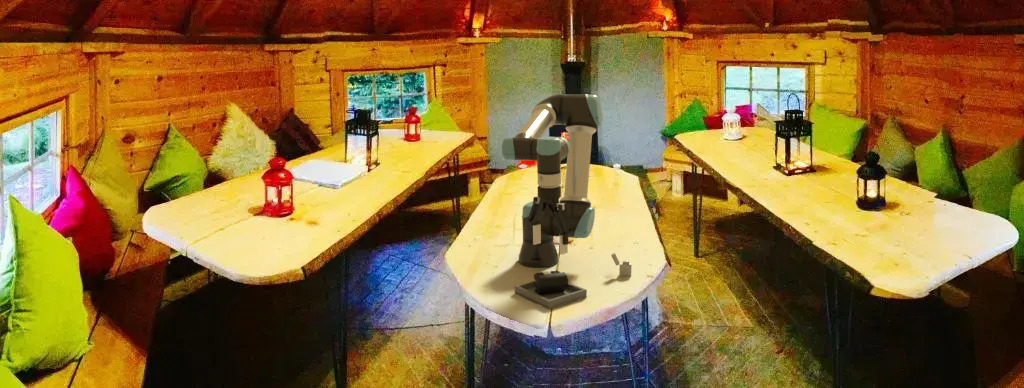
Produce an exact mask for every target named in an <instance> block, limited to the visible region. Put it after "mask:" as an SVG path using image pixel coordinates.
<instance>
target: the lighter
mask: <svg viewBox="0 0 1024 388" xmlns="http://www.w3.org/2000/svg"><path fill="white" fill-rule="evenodd" d="M610 256H611V258H612V260H613V262H614V264H615V266H619V273H618V275H619V276H620V277H632V262H630V261H629V260H622V262H620V261H619V259H618V256H617V254H616V253H615V252H614V253H612V254H611V255H610Z"/></svg>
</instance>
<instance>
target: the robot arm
mask: <svg viewBox="0 0 1024 388" xmlns="http://www.w3.org/2000/svg"><path fill="white" fill-rule="evenodd" d="M602 121H603V113H602V106H601V100H600V98H599V96H598V95H596V94H587V93H583V94H582V93H581V94H580V93H577V94H572V93H570V94H568V93H567V94H566V93H565V94H563V93H561V94H560V93H559V94H554V95H551V96H548V97H547V98H544V99H542V100H541V101H540V102H538V103H537V104H536V105H534V107H533V108H532V110H531V115H530V117H529V118H528V120H527V121H526V122H525V123H524V125H523V126H522V127H521V128H520V130H519V132H517V134H516V135H515V136H514V137H513V136H510V137H504V139H503V140H502V144H501V154H502V157H503V159H505V160H510V161H512V160H513V161H533V162H534V161H535V162H536V165H537V166H536V167H537V169H536V170H537V171H536V172H537V185H538V186H537V196H533V197H532V198H533V199H532V201H530V202H527V203H526V204H524V205H523V206H522V216H521V218H522V243H521V247H520V251H519V254H518V263H519V264H520V265H522V266H524V267H530V268H546V267H547V268H548V267H551V266H554V265H556V264H558V263H559V255H566V254H568V250H569V249H568V248H569V247H568V245H569V238H570V239H571V238H572V239H587V238H588V237H589V236H590V235H591V233H592V230H593V227H594V222H595V217H596V216H595V214H596V211H595V208H594V207H593V206H592V202H591V201H590V199H588V193H589V180H590V179H589V177H590V165H591V155H592V154H591V153H592V140H593V138H592V137H593V134H595V133H596V132H597V127H600V126H601V125H602ZM558 125H559V126H565V130H566V131H567V133H568V140H567V139H566V138H565V137H563V136H544V134H545V133H546V131H547V130H549V128H552V127H553V126H558ZM565 159H566V170H565V181H564V183H565V184H564V194H563V197H561V196H562V186H561V184H562V172H561V170H562V169H561V168H562V167H561V165H562V163H561V162H562V161H564V160H565ZM560 198H561V199H560ZM559 199H560V200H559ZM554 237H556V238H557V237H558V238H559V254H558V251H557V248H556V245H555V241H554Z"/></svg>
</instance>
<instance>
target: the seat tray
mask: <svg viewBox="0 0 1024 388" xmlns="http://www.w3.org/2000/svg"><path fill="white" fill-rule="evenodd" d="M534 282H536V283H537V281H536V280H535V279H533V280H531V281H527V282H524V283H521V284H517V285H514V294H515V295H518V296H519V297H523V298H524V299H526V300H529V301H531V302H532V303H535V304H537V305H539V306H540V307H541V306H542V307H543V308H546V309H548V310H552V309H553V308H557V307H560V306H563V305H567V304H570V303H572V302H573V303H574V302H576V301H579V300H581V299H585V298H587V293H588V291H587V289H585V288H583V287H580V286H579V285H576V284H574V283H571V282H570V281H568V288H567V290H565V291H564V292H557V293H550V294H543V295H538V294H537V293H536V292H535V289H537V288H535V287H534Z"/></svg>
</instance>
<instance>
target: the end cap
mask: <svg viewBox="0 0 1024 388" xmlns="http://www.w3.org/2000/svg"><path fill="white" fill-rule="evenodd" d="M533 280H536V281H537V283H536V282H534V287H535V288H537V289H535V292H536V293H537V294H538V295H543V294H550V293H557V292H564V291H565V290H567V288H568V282H569V279H568V274H567V273H566V272H564V271H563V272H561V271H560V270H551V271H550V273H548V274H545V273H543V272H536V273H534V275H533Z"/></svg>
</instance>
